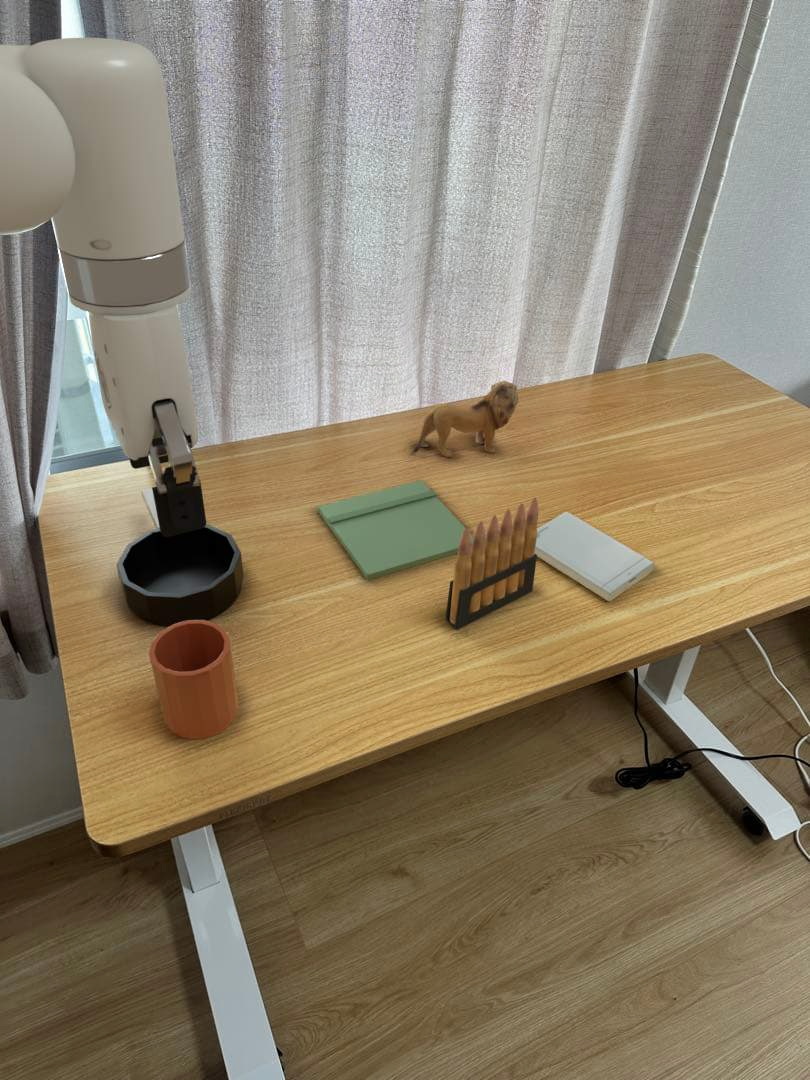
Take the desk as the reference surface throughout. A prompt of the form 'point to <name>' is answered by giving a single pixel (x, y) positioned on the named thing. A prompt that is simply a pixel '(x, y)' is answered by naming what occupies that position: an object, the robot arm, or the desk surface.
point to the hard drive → (590, 556)
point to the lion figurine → (472, 418)
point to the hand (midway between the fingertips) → (167, 495)
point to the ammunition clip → (493, 566)
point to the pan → (180, 573)
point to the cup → (195, 678)
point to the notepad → (394, 528)
